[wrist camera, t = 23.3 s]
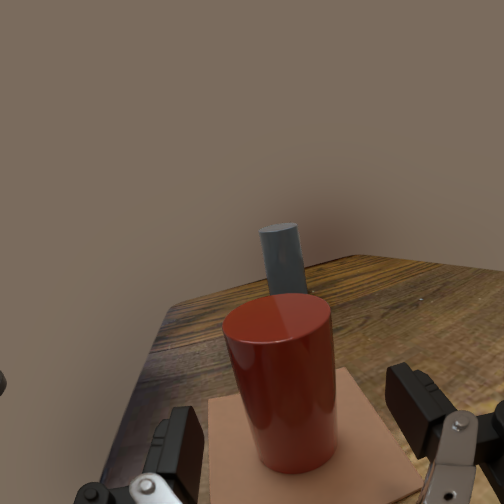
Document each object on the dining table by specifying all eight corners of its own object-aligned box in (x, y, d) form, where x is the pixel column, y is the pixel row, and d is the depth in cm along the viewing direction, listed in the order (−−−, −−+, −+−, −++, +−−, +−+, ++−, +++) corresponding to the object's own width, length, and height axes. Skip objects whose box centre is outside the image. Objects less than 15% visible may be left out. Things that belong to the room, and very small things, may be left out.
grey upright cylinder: (274, 306, 41) (261, 234, 39) (267, 293, 46) (255, 228, 44) (312, 297, 42) (302, 226, 39) (302, 285, 47) (292, 221, 44)
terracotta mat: (214, 547, 10) (212, 545, 10) (209, 402, 24) (208, 398, 24) (425, 487, 11) (426, 484, 11) (345, 370, 25) (345, 366, 24)
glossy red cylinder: (262, 483, 14) (223, 354, 12) (252, 426, 20) (220, 305, 17) (349, 459, 15) (348, 324, 12) (324, 409, 20) (311, 285, 18)
